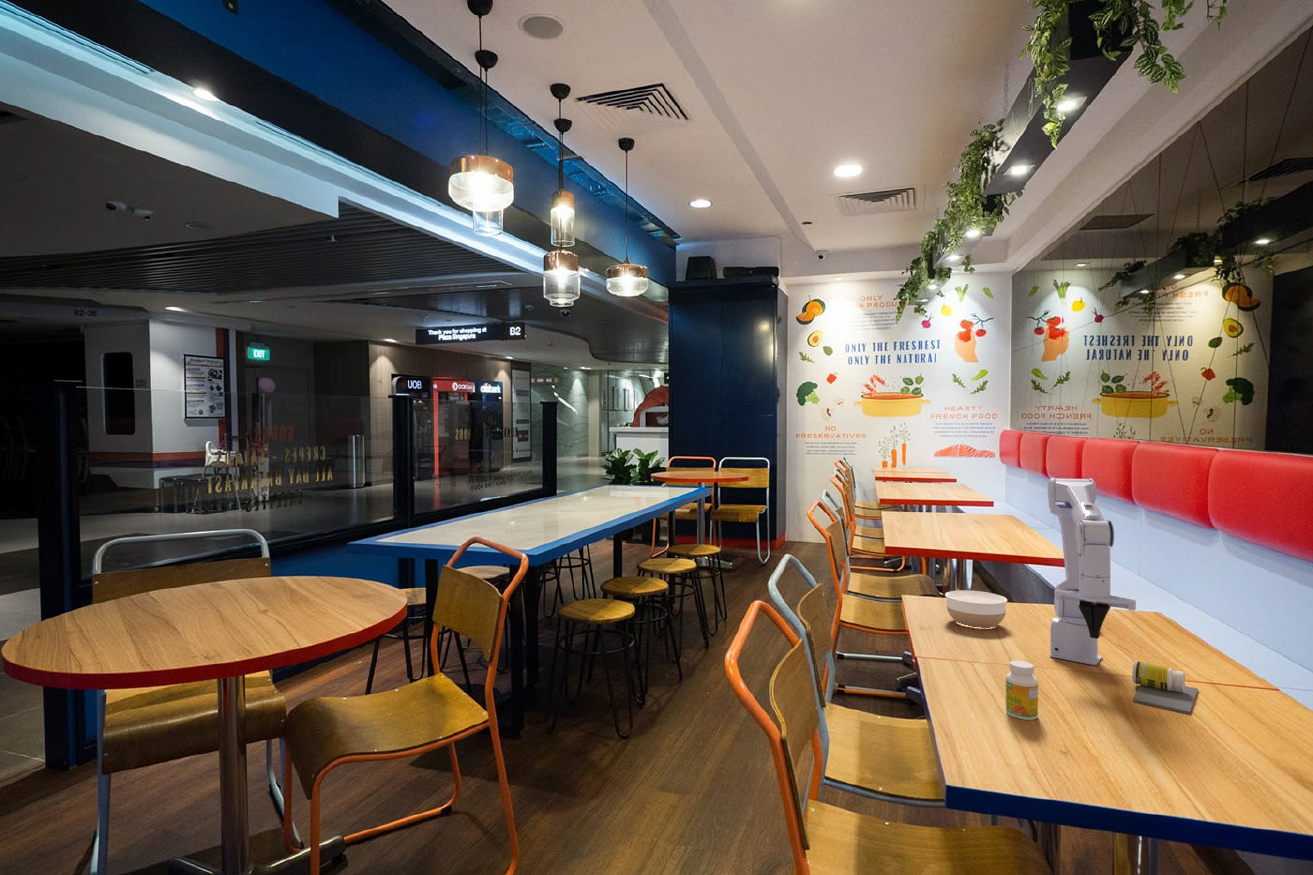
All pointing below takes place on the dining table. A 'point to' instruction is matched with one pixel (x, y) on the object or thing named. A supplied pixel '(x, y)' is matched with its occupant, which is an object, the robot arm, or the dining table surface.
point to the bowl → (976, 608)
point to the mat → (1167, 698)
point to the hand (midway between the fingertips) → (1094, 637)
